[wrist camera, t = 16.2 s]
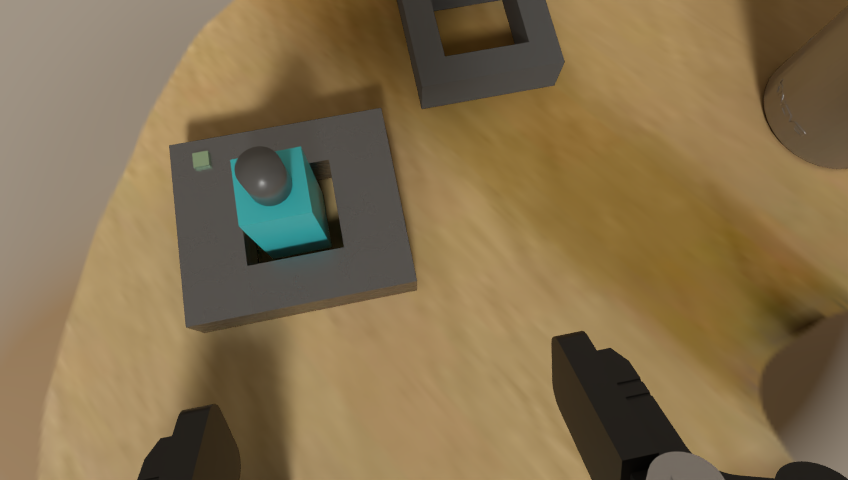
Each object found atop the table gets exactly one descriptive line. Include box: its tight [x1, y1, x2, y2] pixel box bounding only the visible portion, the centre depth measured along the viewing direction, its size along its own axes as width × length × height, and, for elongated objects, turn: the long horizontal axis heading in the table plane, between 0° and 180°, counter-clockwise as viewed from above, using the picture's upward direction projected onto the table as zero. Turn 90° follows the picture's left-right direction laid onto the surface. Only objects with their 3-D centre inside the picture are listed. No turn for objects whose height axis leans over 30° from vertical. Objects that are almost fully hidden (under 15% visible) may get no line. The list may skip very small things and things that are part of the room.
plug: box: [230, 146, 332, 259], centre depth 33 cm, size 4×4×10 cm
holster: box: [397, 0, 565, 109], centre depth 41 cm, size 10×10×3 cm
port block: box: [169, 108, 417, 333], centre depth 36 cm, size 14×12×3 cm
